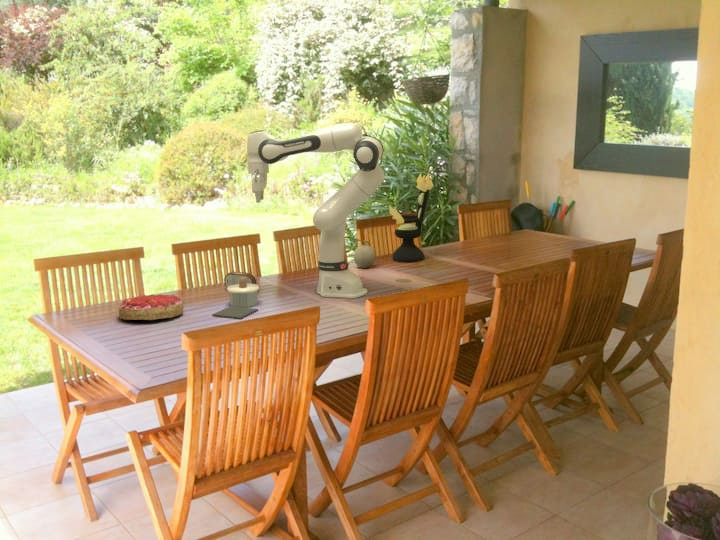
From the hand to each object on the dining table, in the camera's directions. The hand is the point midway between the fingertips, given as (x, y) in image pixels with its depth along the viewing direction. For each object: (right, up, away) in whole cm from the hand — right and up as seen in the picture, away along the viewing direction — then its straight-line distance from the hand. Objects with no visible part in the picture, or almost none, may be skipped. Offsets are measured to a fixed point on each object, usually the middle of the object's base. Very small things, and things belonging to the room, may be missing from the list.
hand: (259, 201), depth 336 cm
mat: (-6, -47, -27) cm, 55 cm away
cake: (-40, -49, -27) cm, 68 cm away
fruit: (+46, -29, +53) cm, 76 cm away
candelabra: (+71, -24, +71) cm, 103 cm away
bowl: (-5, -44, -12) cm, 46 cm away
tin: (-10, -39, +10) cm, 42 cm away
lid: (-5, -38, -13) cm, 41 cm away
